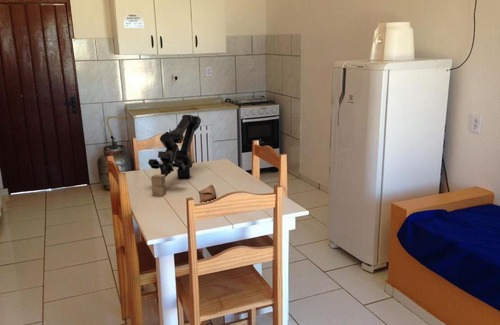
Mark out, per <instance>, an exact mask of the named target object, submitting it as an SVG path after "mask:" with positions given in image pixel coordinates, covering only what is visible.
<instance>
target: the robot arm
mask: <svg viewBox="0 0 500 325" xmlns="http://www.w3.org/2000/svg"><path fill="white" fill-rule="evenodd" d="M201 122H202V119H201V118H200V116H199V115H192V114H182V116H181V119H180V121H179V122H178V124H177V126H176V127H175V129H173V130H171V131H165V133H162V135H161V136H160V137H159V141H160V142H161V144H162V145H163V147H164V148H165V150H163V151H161V150H160V151H157V152H158V154H157V158H159V160H160V161H159V160H158V159H157V158H156V159H155V158H150V159H148V162H147V164H148V165H149V167H150V168H151V169H155V170H158V169H160V174H162V175H165V178H166V177H167V176H168V175H169V174H171V173H172V172H174V171H175V168H177V170H176V174H177V179H179V180H182V179H183V180H185V179H187V180H188V179H191V168H193V161H192V159H191V155H190V149H191V146H192V142H193V138H194V135H195V132H196V131H197V130H198V129H199V128H200V125H201ZM178 144H181V146H180V148H179V145H178Z"/></svg>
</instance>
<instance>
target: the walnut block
mask: <svg viewBox="0 0 500 325" xmlns="http://www.w3.org/2000/svg"><path fill="white" fill-rule="evenodd" d="M150 178H151V179H150V180H151V191H152V192H151V193H152V197H158V198H159V197H161V198H162V197H164V196H165V195H167V185H166V177H165V175H162V174H161V173H156V174H154V175H152V176H151V177H150Z"/></svg>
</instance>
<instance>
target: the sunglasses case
mask: <svg viewBox="0 0 500 325" xmlns="http://www.w3.org/2000/svg"><path fill="white" fill-rule="evenodd" d="M198 194H199V203H200V204H202V202H207V201H211V200H214V199H216V198H217V193H216V189H215V186H214V185H213V184H209V185H208V186H207V187H206V188H203V189H201V190H200V191H198ZM217 199H218V198H217Z"/></svg>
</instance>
